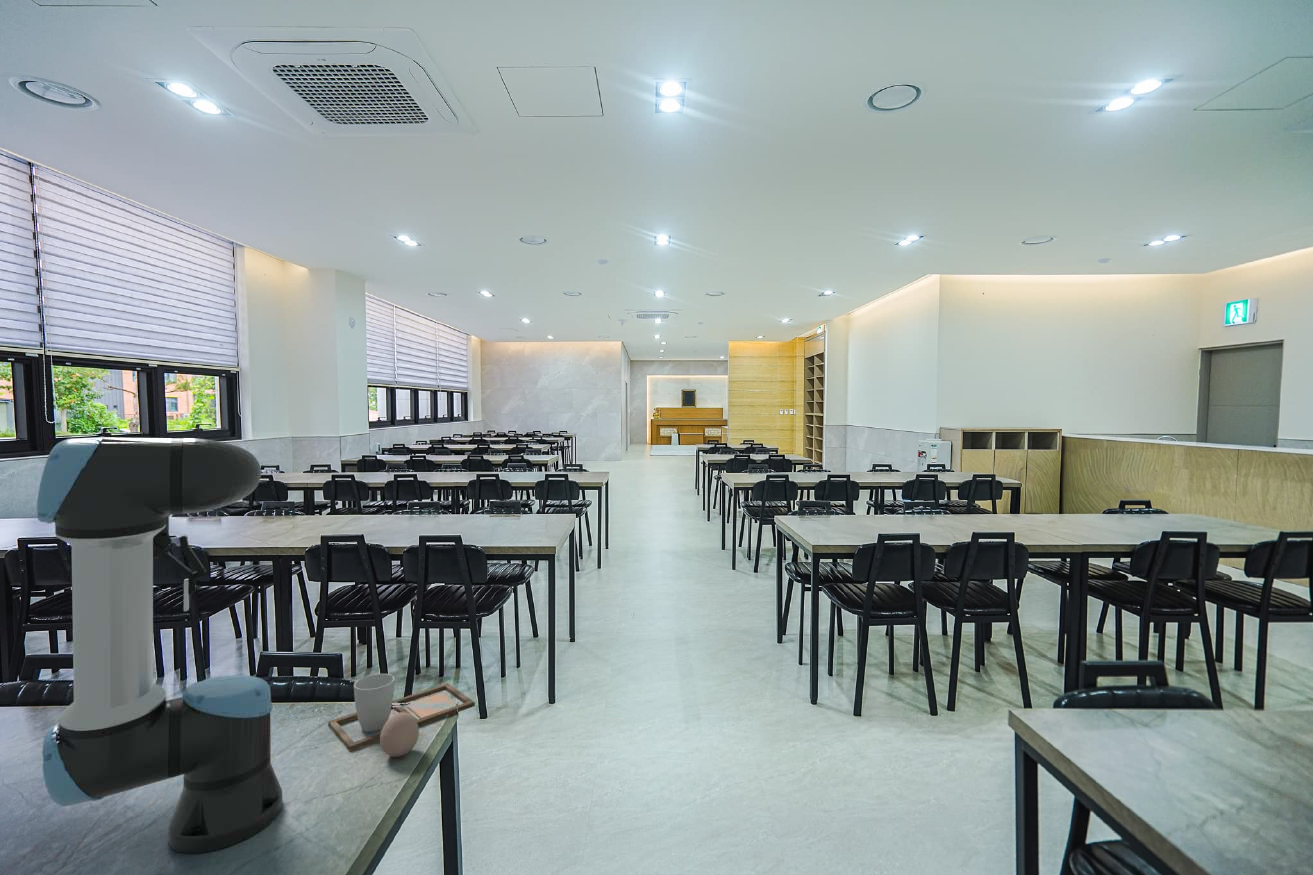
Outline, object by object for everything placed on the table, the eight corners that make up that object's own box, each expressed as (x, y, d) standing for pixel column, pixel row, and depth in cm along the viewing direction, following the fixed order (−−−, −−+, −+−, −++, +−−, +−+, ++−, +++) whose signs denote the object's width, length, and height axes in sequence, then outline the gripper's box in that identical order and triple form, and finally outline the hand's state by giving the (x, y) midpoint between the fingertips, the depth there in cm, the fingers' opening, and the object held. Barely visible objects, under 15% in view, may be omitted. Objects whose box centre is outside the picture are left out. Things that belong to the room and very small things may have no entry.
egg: (417, 760, 112) (417, 719, 112) (377, 767, 109) (378, 725, 109) (419, 742, 118) (419, 703, 118) (382, 748, 116) (382, 708, 116)
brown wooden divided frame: (474, 706, 134) (474, 701, 134) (349, 751, 115) (349, 746, 115) (447, 686, 145) (447, 683, 145) (328, 725, 125) (328, 721, 125)
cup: (401, 723, 126) (402, 679, 126) (366, 739, 119) (367, 692, 119) (380, 713, 131) (381, 670, 131) (346, 728, 124) (346, 683, 124)
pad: (458, 706, 134) (458, 704, 134) (421, 719, 128) (421, 717, 128) (442, 693, 141) (442, 692, 141) (405, 705, 134) (405, 704, 134)
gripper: (220, 509, 130) (219, 601, 130) (66, 518, 115) (65, 622, 115) (219, 513, 124) (218, 609, 124) (56, 522, 109) (55, 631, 109)
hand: (144, 615), depth 119 cm, fingers open, 13 cm apart
